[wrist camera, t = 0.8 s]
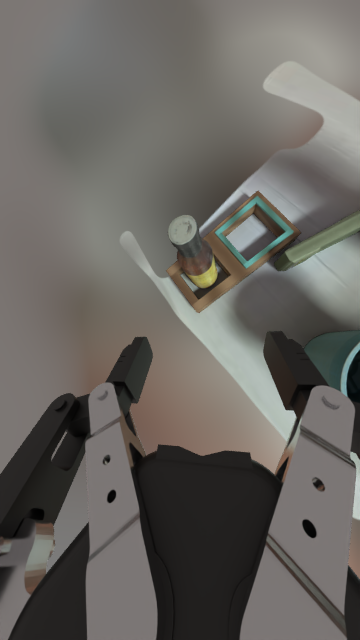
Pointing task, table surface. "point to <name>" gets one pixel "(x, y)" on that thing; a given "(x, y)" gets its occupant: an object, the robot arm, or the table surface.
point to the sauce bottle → (193, 251)
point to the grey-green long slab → (319, 242)
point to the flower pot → (338, 360)
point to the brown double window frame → (230, 256)
